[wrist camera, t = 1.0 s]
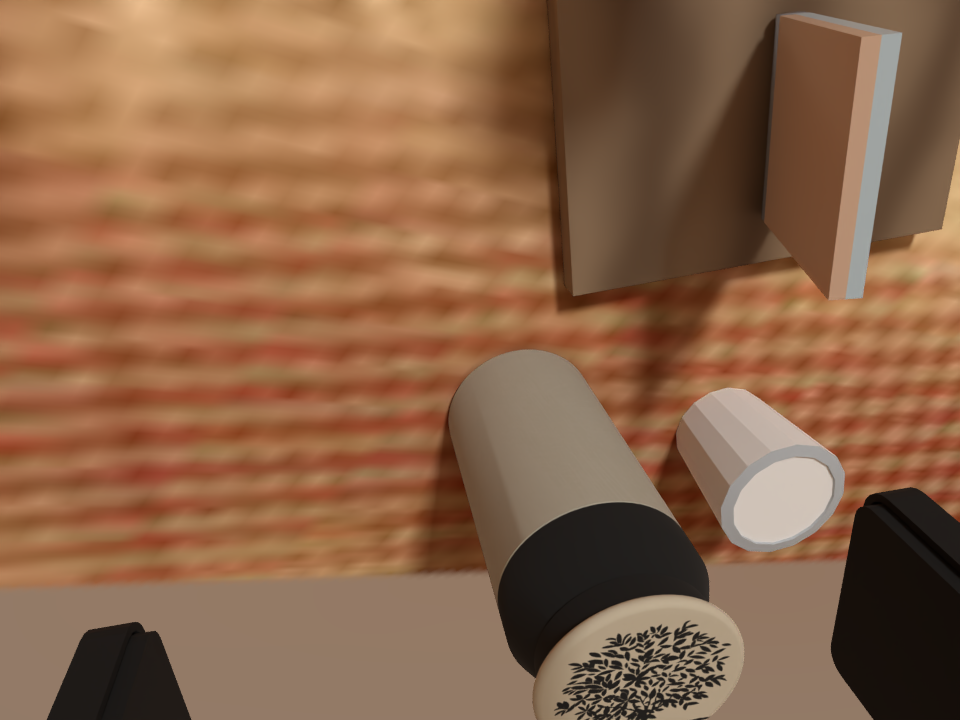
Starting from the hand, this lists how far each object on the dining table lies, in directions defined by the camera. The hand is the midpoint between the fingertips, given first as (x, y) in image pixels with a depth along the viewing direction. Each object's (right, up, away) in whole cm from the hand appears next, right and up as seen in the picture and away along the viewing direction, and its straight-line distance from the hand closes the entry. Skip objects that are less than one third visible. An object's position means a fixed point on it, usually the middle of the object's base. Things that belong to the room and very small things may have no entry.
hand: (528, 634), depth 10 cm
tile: (+12, +12, +20) cm, 26 cm away
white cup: (+14, 0, +34) cm, 37 cm away
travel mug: (+1, +1, +31) cm, 31 cm away
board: (+13, +15, +25) cm, 32 cm away
